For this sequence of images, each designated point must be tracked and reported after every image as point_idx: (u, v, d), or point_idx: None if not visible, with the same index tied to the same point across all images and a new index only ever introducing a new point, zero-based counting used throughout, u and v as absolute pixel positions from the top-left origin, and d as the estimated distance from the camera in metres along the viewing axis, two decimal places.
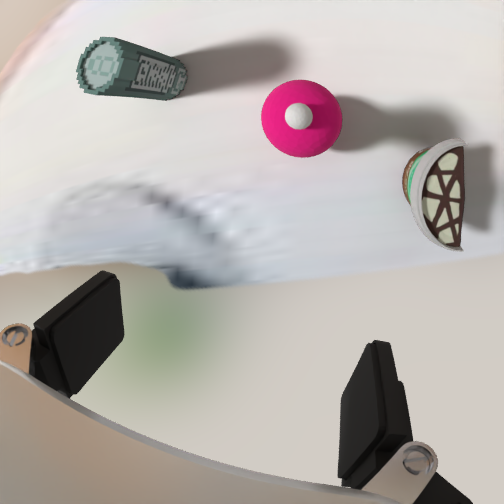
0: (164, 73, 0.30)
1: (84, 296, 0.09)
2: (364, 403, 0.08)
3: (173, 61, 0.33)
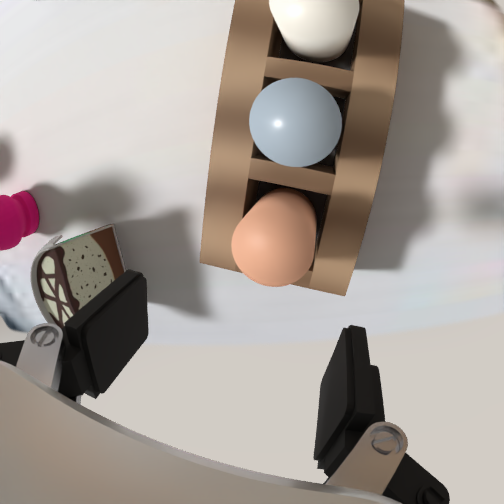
0: None
1: (114, 295, 0.09)
2: (337, 385, 0.08)
3: None
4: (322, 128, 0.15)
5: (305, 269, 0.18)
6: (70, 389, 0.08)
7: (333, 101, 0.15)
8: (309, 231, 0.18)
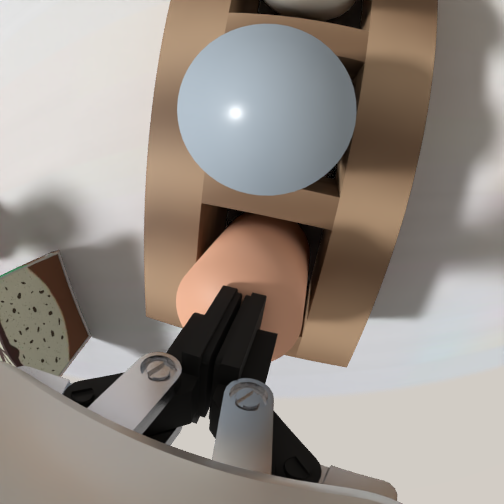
0: None
1: (222, 315, 0.09)
2: None
3: None
4: (318, 118, 0.07)
5: (288, 346, 0.12)
6: (180, 420, 0.08)
7: (339, 65, 0.07)
8: (294, 293, 0.11)
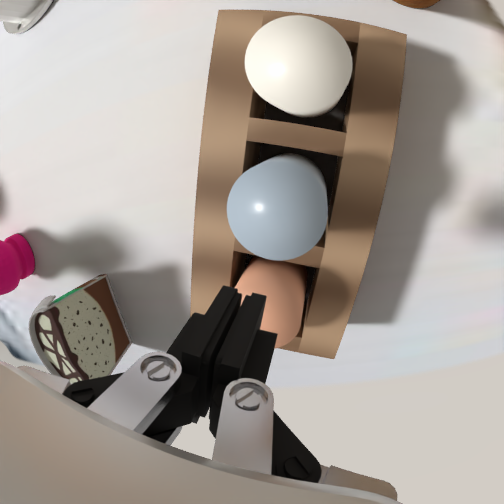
0: None
1: (222, 315, 0.09)
2: None
3: None
4: (306, 220, 0.15)
5: (293, 335, 0.20)
6: (180, 420, 0.08)
7: (318, 189, 0.14)
8: (296, 304, 0.19)
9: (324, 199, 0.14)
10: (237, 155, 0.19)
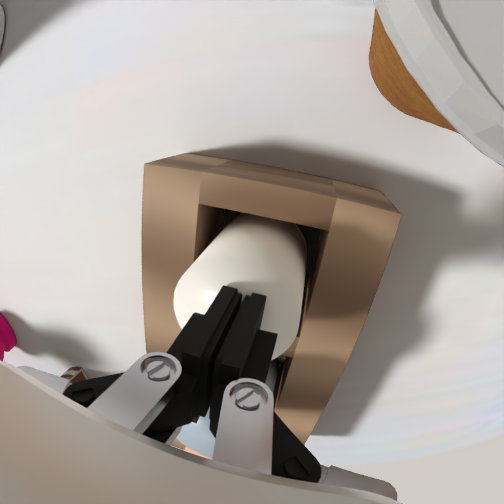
0: None
1: (222, 315, 0.09)
2: None
3: None
4: None
5: None
6: (180, 420, 0.08)
7: None
8: None
9: None
10: None
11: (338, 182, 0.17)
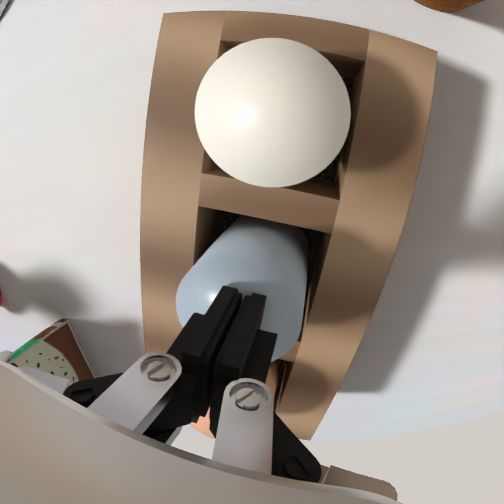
0: None
1: (222, 315, 0.09)
2: None
3: None
4: (274, 328, 0.12)
5: None
6: (180, 420, 0.08)
7: (291, 295, 0.11)
8: None
9: (298, 306, 0.11)
10: (187, 225, 0.14)
11: None
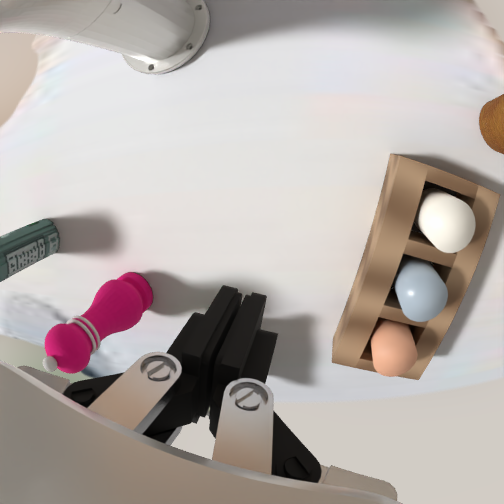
0: (32, 253, 0.40)
1: (222, 315, 0.09)
2: None
3: (43, 233, 0.42)
4: (437, 303, 0.26)
5: (409, 368, 0.29)
6: (180, 420, 0.08)
7: (446, 290, 0.25)
8: (416, 351, 0.28)
9: (447, 294, 0.25)
10: (396, 261, 0.28)
11: None
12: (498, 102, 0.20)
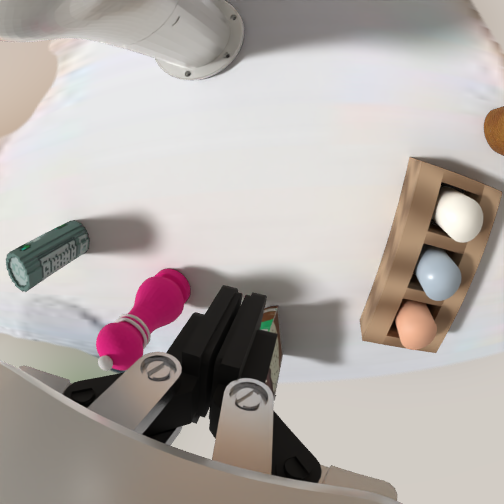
0: (65, 255, 0.43)
1: (222, 315, 0.09)
2: None
3: (73, 234, 0.45)
4: (452, 284, 0.30)
5: (430, 341, 0.33)
6: (180, 420, 0.08)
7: (460, 273, 0.29)
8: (436, 326, 0.33)
9: (460, 277, 0.30)
10: (417, 250, 0.33)
11: (471, 179, 0.31)
12: (502, 114, 0.24)
